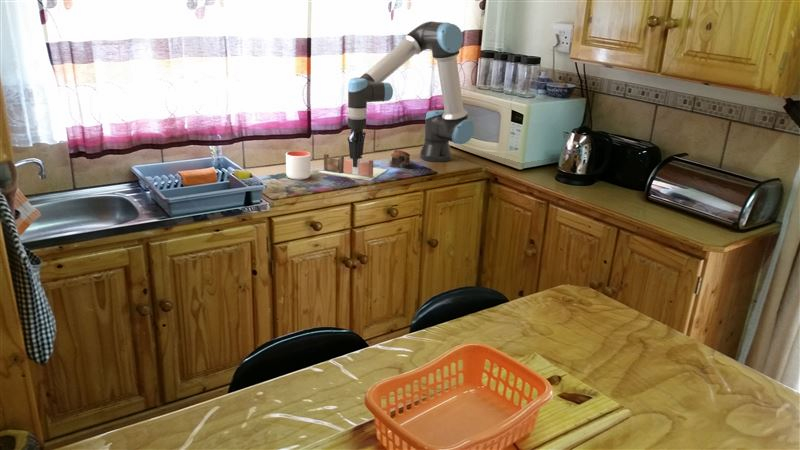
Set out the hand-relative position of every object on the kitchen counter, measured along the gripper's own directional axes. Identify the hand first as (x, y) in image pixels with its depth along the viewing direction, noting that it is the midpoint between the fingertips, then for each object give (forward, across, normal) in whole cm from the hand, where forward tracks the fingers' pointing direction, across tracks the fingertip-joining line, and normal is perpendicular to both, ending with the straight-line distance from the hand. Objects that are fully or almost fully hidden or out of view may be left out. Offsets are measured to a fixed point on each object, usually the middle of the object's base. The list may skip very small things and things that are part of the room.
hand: (355, 173), depth 267 cm
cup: (+2, +9, -22) cm, 24 cm away
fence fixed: (+2, -5, -13) cm, 14 cm away
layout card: (+2, -10, -6) cm, 12 cm away
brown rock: (+3, -30, +9) cm, 31 cm away
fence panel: (+1, -5, -1) cm, 5 cm away
